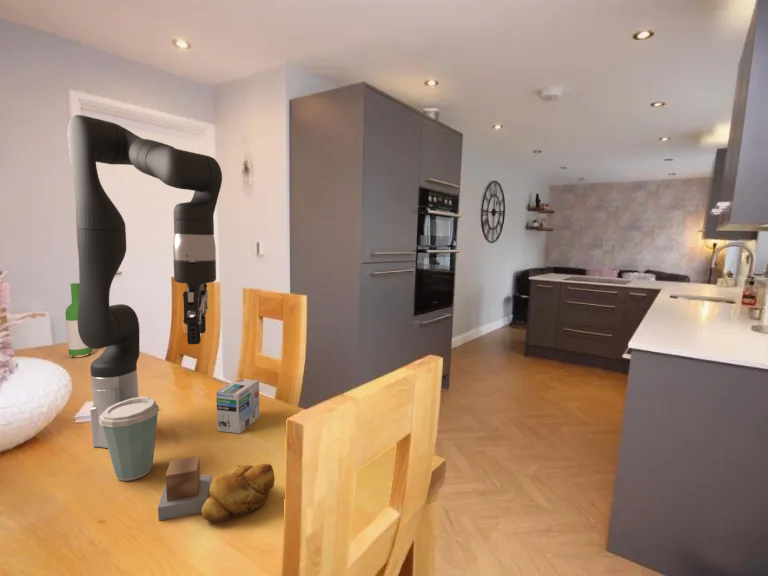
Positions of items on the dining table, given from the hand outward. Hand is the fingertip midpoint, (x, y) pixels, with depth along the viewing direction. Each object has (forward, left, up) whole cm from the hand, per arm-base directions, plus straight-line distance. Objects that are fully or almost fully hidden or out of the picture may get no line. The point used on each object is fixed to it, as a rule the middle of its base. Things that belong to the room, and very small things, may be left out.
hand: (197, 338), depth 80 cm
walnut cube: (-2, -8, -27) cm, 29 cm away
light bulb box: (+7, +23, -30) cm, 38 cm away
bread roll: (+7, -12, -30) cm, 33 cm away
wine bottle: (-56, +106, -30) cm, 123 cm away
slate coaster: (-2, -8, -30) cm, 31 cm away
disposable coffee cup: (-14, +6, -30) cm, 34 cm away
